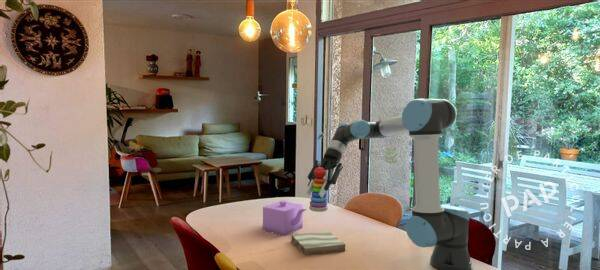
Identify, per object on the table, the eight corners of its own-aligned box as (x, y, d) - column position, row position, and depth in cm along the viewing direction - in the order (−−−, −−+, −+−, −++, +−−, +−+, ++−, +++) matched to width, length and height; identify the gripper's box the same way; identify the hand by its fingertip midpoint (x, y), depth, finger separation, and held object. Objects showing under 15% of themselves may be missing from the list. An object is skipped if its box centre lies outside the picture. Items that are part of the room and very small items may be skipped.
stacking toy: (326, 213, 180) (327, 169, 179) (307, 211, 182) (308, 168, 180) (328, 208, 188) (329, 166, 186) (311, 207, 190) (311, 165, 188)
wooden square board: (345, 250, 181) (345, 243, 180) (305, 255, 175) (305, 248, 174) (328, 237, 198) (328, 231, 197) (291, 241, 192) (291, 234, 191)
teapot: (297, 239, 195) (297, 208, 194) (255, 228, 209) (255, 200, 208) (314, 230, 208) (315, 202, 206) (274, 221, 222) (274, 195, 220)
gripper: (355, 159, 190) (336, 203, 178) (319, 155, 201) (299, 196, 189) (350, 149, 185) (330, 192, 173) (313, 145, 196) (292, 186, 184)
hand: (314, 194), depth 181 cm, fingers closed on stacking toy, 6 cm apart
